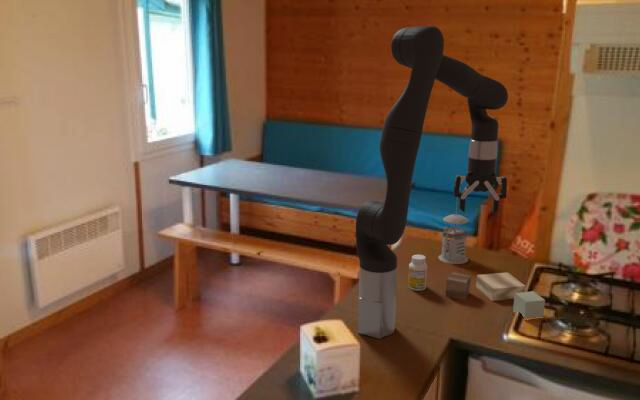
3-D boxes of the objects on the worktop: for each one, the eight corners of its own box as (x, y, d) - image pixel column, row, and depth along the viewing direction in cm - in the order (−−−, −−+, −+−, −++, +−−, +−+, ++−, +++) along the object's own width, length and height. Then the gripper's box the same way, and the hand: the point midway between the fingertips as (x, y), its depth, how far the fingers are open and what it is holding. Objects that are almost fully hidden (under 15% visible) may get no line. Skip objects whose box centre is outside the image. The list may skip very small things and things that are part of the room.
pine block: (491, 301, 161) (493, 288, 160) (475, 287, 170) (476, 275, 169) (524, 298, 162) (525, 285, 161) (506, 284, 172) (507, 272, 171)
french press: (473, 258, 192) (479, 186, 185) (455, 268, 183) (460, 193, 177) (447, 251, 198) (452, 181, 191) (429, 260, 190) (433, 187, 183)
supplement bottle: (413, 282, 173) (415, 252, 170) (429, 286, 170) (431, 256, 167) (404, 287, 169) (405, 257, 166) (420, 292, 166) (422, 261, 163)
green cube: (524, 321, 149) (526, 302, 148) (513, 311, 154) (514, 293, 153) (542, 319, 150) (545, 299, 149) (531, 309, 155) (533, 291, 154)
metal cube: (464, 300, 161) (465, 282, 159) (445, 296, 163) (446, 278, 162) (469, 293, 165) (471, 276, 164) (451, 289, 168) (452, 272, 166)
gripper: (457, 157, 155) (454, 214, 160) (511, 159, 153) (506, 216, 158) (455, 152, 162) (451, 207, 167) (506, 153, 161) (501, 208, 165)
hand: (478, 211), depth 162 cm, fingers open, 8 cm apart
